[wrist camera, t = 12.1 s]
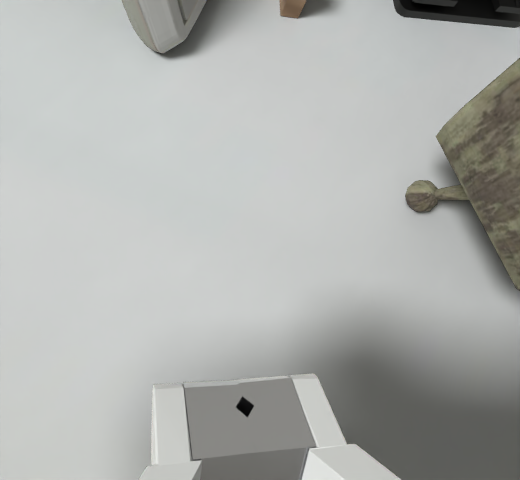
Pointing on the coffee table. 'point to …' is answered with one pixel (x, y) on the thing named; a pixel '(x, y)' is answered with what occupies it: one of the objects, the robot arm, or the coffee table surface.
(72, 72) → the coffee table surface
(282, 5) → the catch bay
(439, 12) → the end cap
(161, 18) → the digital clock
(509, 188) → the tabletop clock
